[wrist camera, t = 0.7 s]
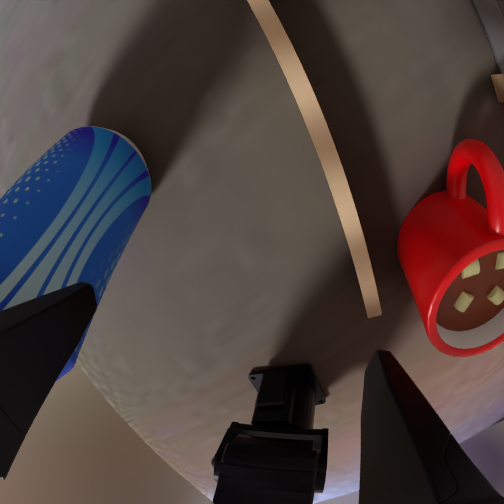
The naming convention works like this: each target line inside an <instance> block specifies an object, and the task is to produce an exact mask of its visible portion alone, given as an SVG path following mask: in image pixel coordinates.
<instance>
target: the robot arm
mask: <svg viewBox="0 0 504 504" xmlns="http://www.w3.org/2000/svg"><path fill="white" fill-rule="evenodd" d="M96 309H97V301H96V296H95V291H94V287H93V285H92V284H90V283H87V282H83V281H81V282H78V283H75V284H73V285H70V286H67V287H64V288H61V289H59V290H56V291H53V292H50V293H48V294H45V295H42V296H39V297H37V298H34V299H31V300H29V301H26V302H23V303H21V304H18V305H15V306H13V307H10V308H7V309H5V310H2V311H0V477H1V478H2V479H3V480H5V478H6V476H7V474H8V472H9V470H10V467H11V465H12V463H13V461H14V459H15V457H16V455H17V453H18V451H19V449H20V446H21V444H22V442H23V440H24V438H25V436H26V434H27V432H28V430H29V428H30V427H31V425H32V423H33V421H34V419H35V417H36V415H37V413H38V411H39V410H40V408H41V406H42V404H43V403H44V401H45V399H46V397H47V395H48V394H49V392H50V390H51V388H52V387H53V385H54V383H55V382H56V380H57V378H58V377H59V375H60V373H61V372H62V370H63V368H64V367H65V365H66V364H67V362H68V360H69V359H70V357H71V356H72V354H73V352H74V351H75V349H76V347H77V346H78V344H79V342H80V340H81V338H82V336H83V334H84V333H85V331H86V329H87V327H88V325H89V323H90V321H91V319H92V317H93V315H94V314H95V312H96ZM248 378H249V380H250V381H251V383H252V384H253V386H254V387H255V389H256V390H257V392H258V395H257V399H256V403H255V409H254V413H253V417H252V422H251V424H252V425H249V424H241V423H238V422H232V423H231V425H230V428H228V430H227V432H226V434H225V436H224V438H223V440H222V442H221V444H220V446H219V448H218V450H217V452H216V454H215V456H214V458H213V459H212V462H211V464H212V466H213V467H214V478H215V481H216V482H217V487H216V491H215V495H214V498H213V504H313V497H314V493H323V489H324V484H325V478H326V469H327V455H328V429H326V428H322V429H313V423H314V412H315V405H319V404H324V403H325V402H326V398H325V395H324V393H323V391H322V388H321V386H320V384H319V382H318V379H317V377H316V375H315V372H314V370H313V368H312V366H311V365H309V364H304V365H298V366H292V367H285V368H279V369H272V370H264V371H257V372H251V373H249V377H248ZM359 504H504V497H503V496H501V495H500V494H499V493H498V492H497V491H496V490H495V489H494V487H493V486H492V485H491V484H490V483H489V481H488V480H487V479H486V478H485V477H484V476H483V474H482V473H481V472H480V471H479V469H478V468H477V467H476V466H475V465H474V464H473V462H472V461H471V460H470V459H469V457H468V456H467V455H466V453H465V452H464V451H463V449H462V448H461V446H460V445H459V444H458V442H457V441H456V439H455V438H454V437H453V435H452V434H450V431H449V430H448V428H447V427H446V425H445V424H444V423H443V421H442V420H441V419H440V417H439V416H438V414H437V413H436V412H435V410H434V409H433V408H432V406H431V405H430V403H429V402H428V401H427V399H426V398H425V397H424V395H423V394H422V393H421V391H420V390H419V389H418V387H417V386H416V385H415V383H414V382H413V381H412V379H411V378H410V377H409V375H408V374H407V373H406V371H405V370H404V369H403V368H402V366H401V365H400V364H399V362H398V361H397V360H396V358H395V357H394V356H393V355H392V353H391V352H390V351H386V350H376V351H375V353H374V355H373V356H372V358H371V360H370V362H369V364H368V366H367V368H366V371H365V376H364V390H363V401H362V411H361V464H360V489H359Z"/></svg>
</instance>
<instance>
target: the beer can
mask: <svg viewBox="0 0 504 504" xmlns="http://www.w3.org/2000/svg"><path fill="white" fill-rule="evenodd" d="M150 196H151V179H150V175H149V171H148V169H147V166H146V163H145V160H144V158H143V156H142V154H141V152H140V151H139V150H138V148H137V147H136V146H135V145H134V143H132V142H131V141H130V140H129V139H128V138H127V137H125V136H124V135H122V134H120V133H118V132H116V131H114V130H111V129H106V128H102V127H96V126H85V127H80V128H77V129H74V130H72V131H70V132H69V133H67V134H66V135H65V136H64V137H62V138H61V139H60V140H59V141H58V142H57V143H56V144H54V145H53V146H52V147H51V148H50V149H49V150H48V151H47V152H46V153H44V154H43V155H42V156H41V157H40V158H39V159H38V160H37V161H36V162H35V163H34V164H33V165H32V166H31V167H30V168H29V169H28V170H27V171H26V172H25V173H24V174H23V175H22V176H21V177H20V178H19V179H18V180H17V181H16V182H15V183H14V184H13V185H12V186H11V188H10V189H9V190H8V191H7V192H6V193H5V194H4V195H3V196H2V198H1V199H0V311H2V310H5V309H7V308H10V307H13V306H15V305H18V304H21V303H23V302H26V301H29V300H31V299H34V298H37V297H39V296H42V295H45V294H48V293H50V292H53V291H56V290H59V289H61V288H64V287H67V286H70V285H73V284H75V283H78V282H81V281H83V282H87V283H90V284H92V285H93V287H94V291H95V296H96V301H97V307H98V304H99V302H100V300H101V298H102V295H103V293H104V291H105V289H106V286H107V284H108V282H109V280H110V278H111V276H112V273H113V271H114V269H115V267H116V265H117V263H118V261H119V259H120V257H121V255H122V253H123V251H124V249H125V247H126V245H127V243H128V241H129V239H130V237H131V235H132V233H133V231H134V229H135V227H136V225H137V224H138V222H139V220H140V218H141V216H142V214H143V212H144V211H145V209H146V207H147V205H148V203H149V200H150ZM93 316H94V315H93ZM92 319H93V317H92ZM92 319H91V321H92ZM91 321H90V323H89V325H88V327H87V329H86V331H85V333H84V334H83V336H82V338H81V340H80V342H79V344H78V346H77V347H76V349H75V351H74V352H73V354H72V356H71V357H70V359H69V360H68V362H67V364H66V365H65V367H64V368H63V370H62V372H61V373H60V375H59V377H58V378H57V380H58V379H60V378H61V377H62V376H64V375H65V374H66V373H67V372H69V371H70V370H71V369H72V368H73V367H74V365H75V363H76V360H77V357H78V354H79V352H80V349H81V346H82V344H83V341H84V339H85V336H86V333H87V331H88V328H89V326H90V324H91ZM57 380H56V381H57Z"/></svg>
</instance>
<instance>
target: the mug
mask: <svg viewBox="0 0 504 504" xmlns="http://www.w3.org/2000/svg"><path fill="white" fill-rule="evenodd" d="M471 164H473V165H474V166H475V168H476V169H477V171H478V173H479V175H480V178H481V180H482V183H483V186H484V191H485V196H486V204H487V209H486V208H484V207H483V206H482V205H481V204H479V203H478V202H477V201H476V200H474V199H473V198H472V197H470V196H468V195H467V194H466V182H467V174H468V170H469V167H470V165H471ZM397 253H398V259H399V262H400V265H401V267H402V270H403V272H404V274H405V277H406V279H407V282H408V284H409V287H410V289H411V292H412V294H413V297H414V299H415V302H416V305H417V307H418V310H419V313H420V316H421V318H422V321H423V324H424V327H425V330H426V333H427V336H428V338H429V340H430V341H431V343H432V344H433V345H434V346H435V347H436V349H437V350H439V351H441V352H442V353H444V354H446V355H450V356H454V357H466V356H474V355H477V354H480V353H483V352H485V351H487V350H490V349H492V348H494V347H495V346H497V345H498V344H500V343H501V342H503V341H504V170H503V168H502V165H501V164H500V162H499V160H498V159H497V157H496V156H495V154H494V153H493V151H492V150H491V149H490V148H489V147H488V146H487V145H486V144H484V143H483V142H481V141H479V140H476V139H471V138H470V139H466V140H463V141H461V142H459V143H458V144H457V145H456V146H455V148H454V150H453V151H452V153H451V156H450V159H449V163H448V168H447V190H445V191H440V192H436V193H434V194H431V195H429V196H427V197H425V198H424V199H422V200H421V201H420V202H418V203H417V204H416V205H415V206H414V207H413V208H412V209H411V211H410V212H409V213H408V215H407V216H406V218H405V220H404V222H403V224H402V226H401V228H400V232H399V235H398V242H397Z"/></svg>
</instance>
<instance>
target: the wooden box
mask: <svg viewBox="0 0 504 504" xmlns="http://www.w3.org/2000/svg"><path fill="white" fill-rule="evenodd" d="M247 1H248V3H249V5H250V6H251V8H252V10H253V12H254V14H255V16H256V18H257V19H258V21H259V23H260V25H261V27H262V29H263V31H264V33H265V35H266V37H267V39H268V41H269V43H270V45H271V47H272V49H273V51H274V53H275V55H276V57H277V59H278V61H279V63H280V66H281V68H282V70H283V72H284V74H285V76H286V79H287V81H288V83H289V85H290V87H291V90H292V92H293V94H294V97H295V99H296V101H297V103H298V106H299V108H300V111H301V113H302V115H303V118H304V120H305V123H306V125H307V128H308V130H309V133H310V135H311V138H312V140H313V143H314V145H315V148H316V151H317V153H318V156H319V159H320V161H321V164H322V167H323V169H324V172H325V175H326V178H327V181H328V183H329V186H330V189H331V192H332V195H333V198H334V201H335V204H336V207H337V210H338V213H339V216H340V219H341V222H342V226H343V229H344V232H345V235H346V238H347V242H348V245H349V249H350V252H351V255H352V259H353V262H354V266H355V270H356V273H357V277H358V281H359V284H360V288H361V292H362V296H363V300H364V304H365V308H366V312H367V316H368V318H372V317H376V316H380V315H382V312H381V307H380V302H379V297H378V293H377V288H376V284H375V279H374V275H373V271H372V267H371V262H370V258H369V255H368V251H367V247H366V243H365V239H364V236H363V232H362V228H361V225H360V221H359V218H358V214H357V211H356V208H355V204H354V201H353V198H352V195H351V192H350V188H349V185H348V182H347V179H346V176H345V173H344V170H343V167H342V164H341V161H340V159H339V156H338V153H337V150H336V147H335V145H334V142H333V139H332V137H331V134H330V131H329V129H328V126H327V123H326V121H325V118H324V116H323V113H322V111H321V108H320V106H319V104H318V101H317V99H316V96H315V94H314V92H313V89H312V87H311V85H310V82H309V80H308V78H307V76H306V73H305V71H304V69H303V67H302V65H301V63H300V60H299V58H298V56H297V54H296V52H295V50H294V48H293V46H292V44H291V42H290V40H289V38H288V36H287V34H286V32H285V30H284V28H283V26H282V24H281V22H280V20H279V18H278V17H277V15H276V13H275V11H274V9H273V7H272V6H271V4H270V2H269V0H247ZM471 2H472V4H473V7H474V9H475V11H476V13H477V15H478V17H479V19H480V22H481V24H482V26H483V28H484V31H485V33H486V36H487V38H488V41H489V43H490V46H491V49H492V51H493V54H494V57H495V60H496V63H497V66H498V69H499V72H500V74H494V75H491V78H492V81H493V85H494V88H495V92H496V95H497V99H498V102H499V103H504V16H503V14H502V12H501V9H500V7H499V5H498V3H497V1H496V0H471Z"/></svg>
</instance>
